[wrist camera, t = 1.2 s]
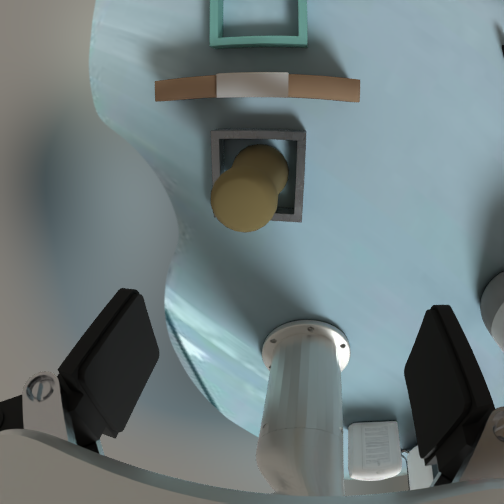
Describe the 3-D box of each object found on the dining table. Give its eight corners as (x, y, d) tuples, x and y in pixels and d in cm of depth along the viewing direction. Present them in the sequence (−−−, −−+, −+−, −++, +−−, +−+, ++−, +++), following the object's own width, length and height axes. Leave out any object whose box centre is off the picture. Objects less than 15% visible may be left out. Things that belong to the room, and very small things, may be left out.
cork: (221, 180, 33) (186, 217, 23) (250, 133, 30) (224, 149, 20) (269, 209, 34) (254, 257, 24) (300, 164, 31) (298, 195, 21)
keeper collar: (301, 215, 33) (301, 222, 32) (219, 210, 35) (214, 217, 33) (305, 130, 29) (306, 132, 27) (216, 129, 30) (210, 130, 29)
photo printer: (345, 431, 52) (346, 484, 41) (349, 421, 50) (350, 477, 39) (393, 429, 50) (399, 480, 40) (399, 418, 48) (406, 472, 38)
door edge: (350, 102, 27) (360, 103, 22) (175, 101, 29) (153, 102, 25) (351, 82, 26) (361, 78, 21) (175, 81, 28) (152, 80, 24)
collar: (307, 47, 25) (307, 44, 23) (215, 48, 26) (209, 46, 25) (305, -28, 21) (305, -35, 19) (216, -25, 22) (210, -31, 20)
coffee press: (458, 443, 53) (473, 542, 26) (400, 460, 58) (404, 562, 31) (467, 412, 46) (491, 532, 20) (398, 433, 51) (406, 560, 25)
